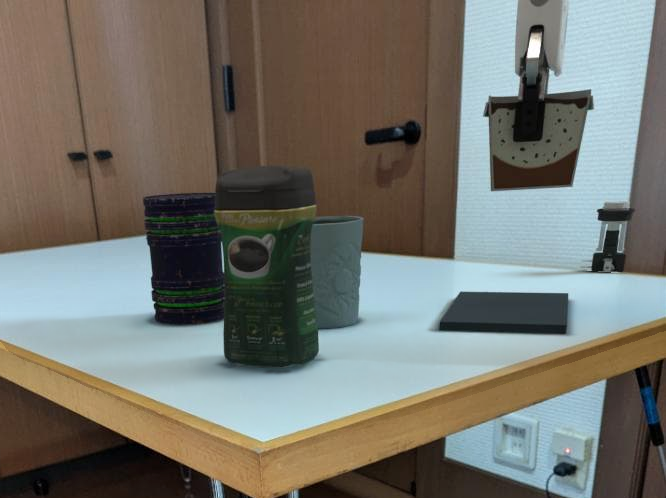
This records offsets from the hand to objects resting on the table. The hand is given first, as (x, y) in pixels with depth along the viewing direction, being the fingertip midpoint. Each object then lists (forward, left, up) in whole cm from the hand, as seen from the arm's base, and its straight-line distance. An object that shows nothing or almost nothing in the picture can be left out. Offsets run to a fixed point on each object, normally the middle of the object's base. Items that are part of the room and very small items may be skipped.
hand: (529, 139), depth 94 cm
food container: (0, 0, -5) cm, 5 cm away
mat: (0, +4, -19) cm, 20 cm away
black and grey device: (-12, -32, -20) cm, 39 cm away
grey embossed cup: (+22, +11, -20) cm, 32 cm away
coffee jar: (+22, +31, -20) cm, 43 cm away
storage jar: (+40, +11, -20) cm, 46 cm away
